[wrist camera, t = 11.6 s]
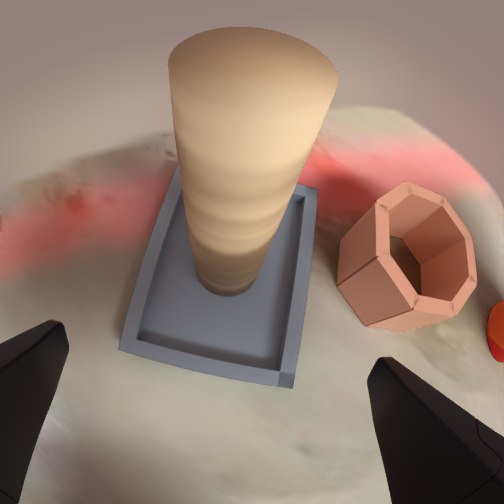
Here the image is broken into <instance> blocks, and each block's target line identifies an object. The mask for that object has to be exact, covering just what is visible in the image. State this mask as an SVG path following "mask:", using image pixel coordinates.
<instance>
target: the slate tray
mask: <svg viewBox="0 0 504 504" xmlns="http://www.w3.org/2000/svg"><path fill="white" fill-rule="evenodd" d="M317 198H318V189H316V188H312V187H308V186H304V185H300V184H296V187H295V189H294V192H293V194H292V196H291V199H290V201H289V203H288V206H287V208H286V210H285V213H284V215H283V217H282V220H281V222H280V224H279V227H278V229H277V231H276V234H275V236H274V238H273V241H272V243H271V245H270V248H269V250H268V252H267V254H266V257H265V259H264V261H263V264H262V266H261V268H260V271H259V273H258V275H257V277H256V280H255V281H254V283H253V285H252V286H251V287H250V288H249V289H248V290H247V291H245V292H244V293H242V294H240V295H237V296H232V297H223V296H218V295H215V294H213V293H211V292H209V291H208V290H207V289H205V288H204V287H203V285H202V284H201V283H200V281H199V279H198V277H197V273H196V268H195V263H194V258H193V252H192V247H191V241H190V235H189V229H188V223H187V217H186V211H185V205H184V198H183V191H182V185H181V178H180V171H179V163H178V166H177V168H176V171H175V173H174V175H173V178H172V180H171V183H170V185H169V188H168V191H167V193H166V196H165V198H164V201H163V204H162V206H161V209H160V212H159V214H158V217H157V220H156V223H155V226H154V228H153V231H152V234H151V237H150V240H149V243H148V246H147V249H146V252H145V255H144V258H143V261H142V264H141V268H140V271H139V274H138V277H137V281H136V284H135V287H134V291H133V294H132V298H131V301H130V305H129V309H128V312H127V316H126V320H125V324H124V328H123V332H122V336H121V340H120V344H119V348H118V350H121V351H124V352H127V353H130V354H134V355H137V356H140V357H143V358H147V359H150V360H154V361H157V362H161V363H165V364H168V365H172V366H176V367H180V368H184V369H188V370H192V371H196V372H201V373H205V374H210V375H214V376H219V377H224V378H229V379H234V380H240V381H245V382H251V383H257V384H263V385H269V386H276V387H283V388H291V389H293V384H294V378H295V372H296V367H297V361H298V355H299V348H300V342H301V336H302V329H303V322H304V315H305V308H306V301H307V293H308V285H309V277H310V269H311V260H312V251H313V242H314V232H315V221H316V210H317Z"/></svg>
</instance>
